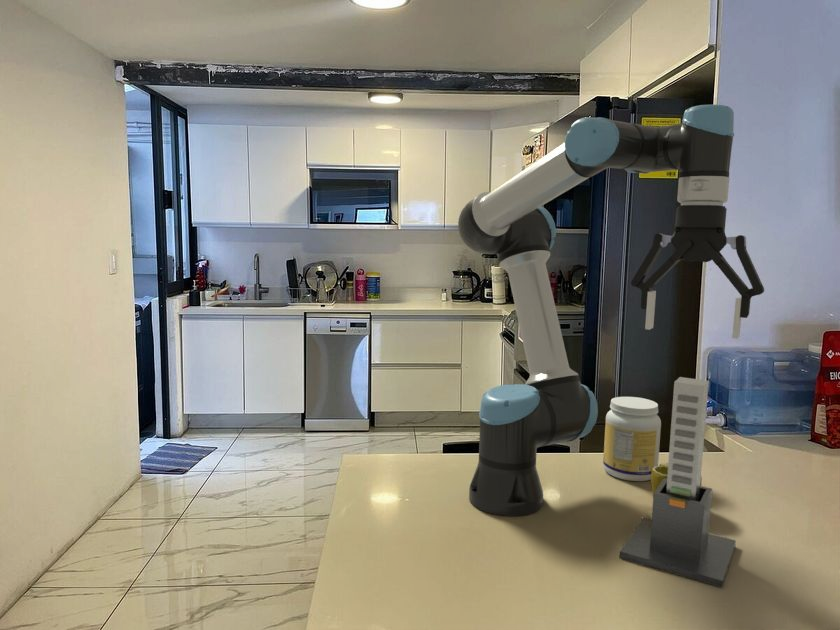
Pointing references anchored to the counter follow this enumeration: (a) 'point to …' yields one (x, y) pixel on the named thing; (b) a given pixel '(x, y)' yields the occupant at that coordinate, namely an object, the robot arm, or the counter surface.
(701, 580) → the stand
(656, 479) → the mug
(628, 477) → the supplement tub
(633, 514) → the counter surface
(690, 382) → the column
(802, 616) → the counter surface
